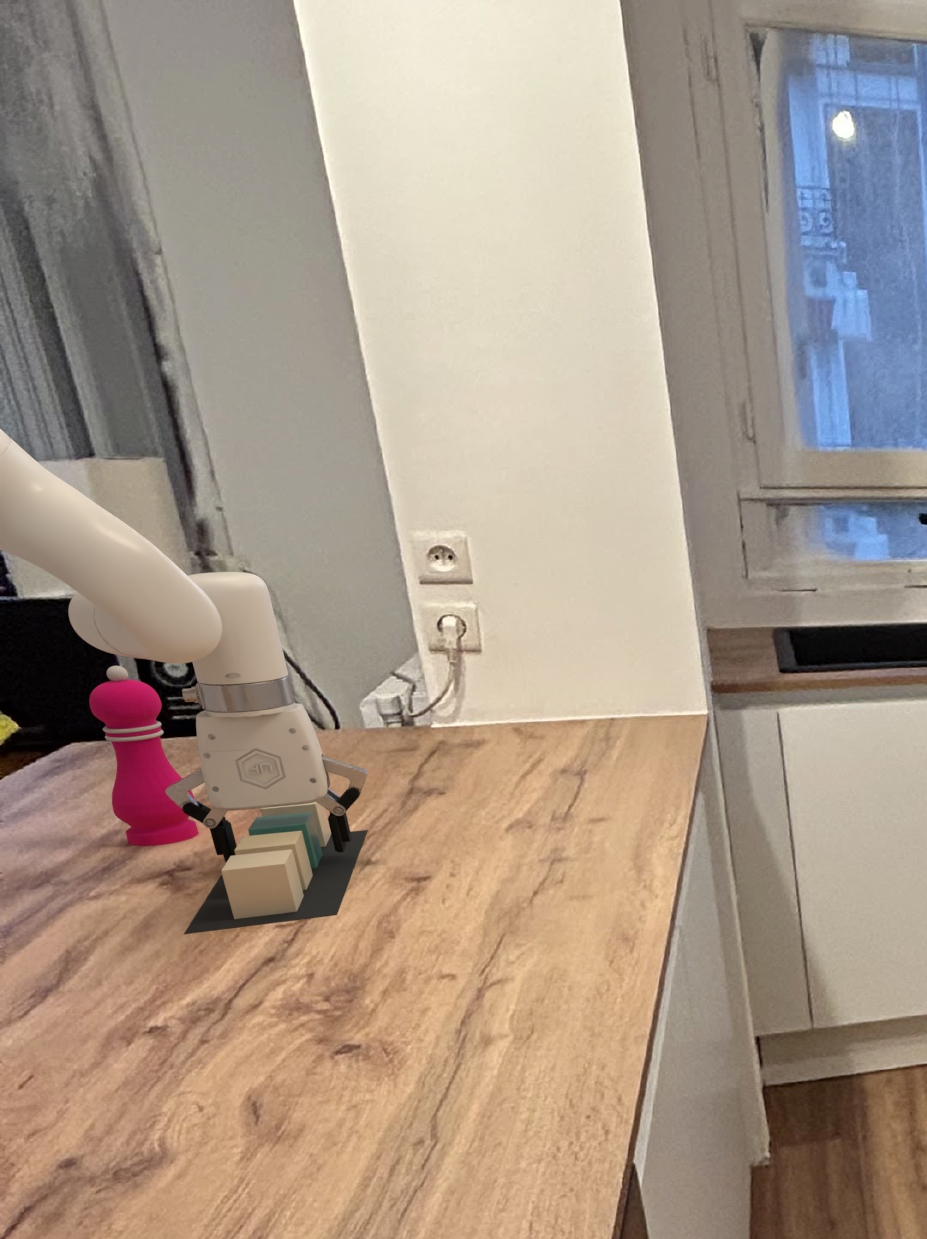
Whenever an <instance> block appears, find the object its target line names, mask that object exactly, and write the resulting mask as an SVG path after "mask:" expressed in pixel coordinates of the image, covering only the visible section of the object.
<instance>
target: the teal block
mask: <svg viewBox="0 0 927 1239" xmlns="http://www.w3.org/2000/svg"><path fill="white" fill-rule="evenodd" d="M247 831H248V834H249V835H248V836H253V835H263V834H273V833H283V832H292V831H302V833H303V837H304V842H305V846H306V850H307V854H308V858H309V862H310V866H311V869H315V868H317V866H318V864H319V862H320V859H321V857H322V851H321V847H320V843H319V839H318V834H317V830H316V826H315V822H314V818H313V814H312V812H306V813H295V814H285V815H275V816H264V817H262V816H257V817H255V818H254V820H253V821H252V823H251V825H250V826H249V828H248V829H247Z"/></svg>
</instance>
